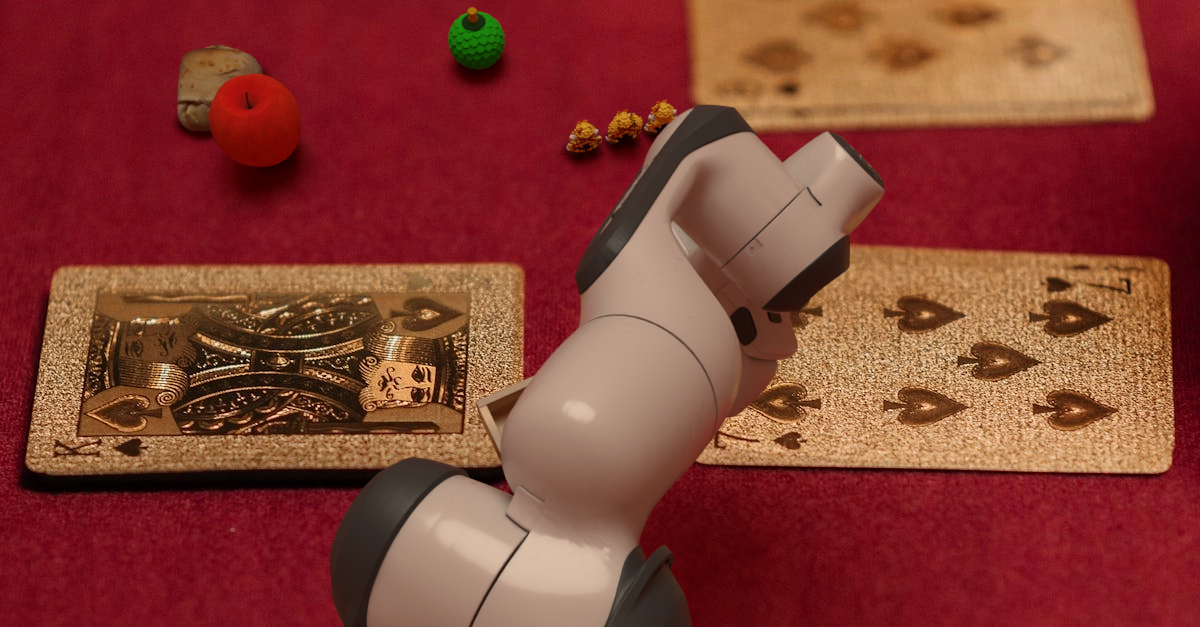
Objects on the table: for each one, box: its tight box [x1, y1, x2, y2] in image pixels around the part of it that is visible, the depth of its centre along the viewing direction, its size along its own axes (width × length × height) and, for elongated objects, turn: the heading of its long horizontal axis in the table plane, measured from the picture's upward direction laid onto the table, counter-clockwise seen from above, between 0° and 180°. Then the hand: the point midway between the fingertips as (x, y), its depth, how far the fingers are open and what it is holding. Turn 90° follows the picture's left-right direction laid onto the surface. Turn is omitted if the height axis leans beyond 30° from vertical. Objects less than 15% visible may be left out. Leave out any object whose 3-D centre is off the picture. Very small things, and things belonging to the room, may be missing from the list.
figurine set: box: [565, 99, 678, 157], centre depth 149 cm, size 3×16×7 cm, turn 108°
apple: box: [208, 73, 303, 168], centre depth 146 cm, size 12×12×13 cm
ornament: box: [447, 6, 506, 71], centre depth 155 cm, size 8×8×10 cm
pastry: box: [176, 43, 264, 132], centre depth 153 cm, size 14×12×8 cm
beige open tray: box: [475, 374, 535, 462], centre depth 103 cm, size 9×11×4 cm
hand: (637, 365), depth 107 cm, fingers closed on small box, 6 cm apart
